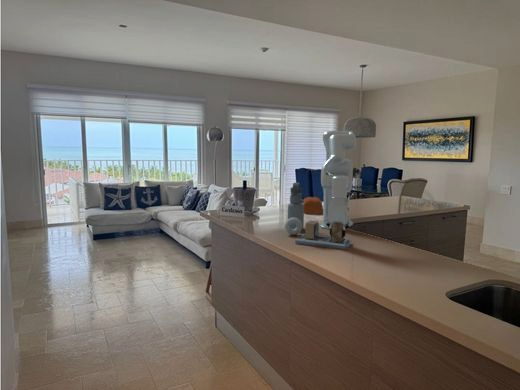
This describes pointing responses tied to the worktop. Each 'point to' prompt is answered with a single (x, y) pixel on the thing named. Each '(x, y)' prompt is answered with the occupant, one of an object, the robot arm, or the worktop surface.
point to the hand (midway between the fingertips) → (337, 236)
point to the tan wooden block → (336, 232)
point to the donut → (297, 229)
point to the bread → (312, 206)
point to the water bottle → (296, 205)
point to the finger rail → (320, 238)
